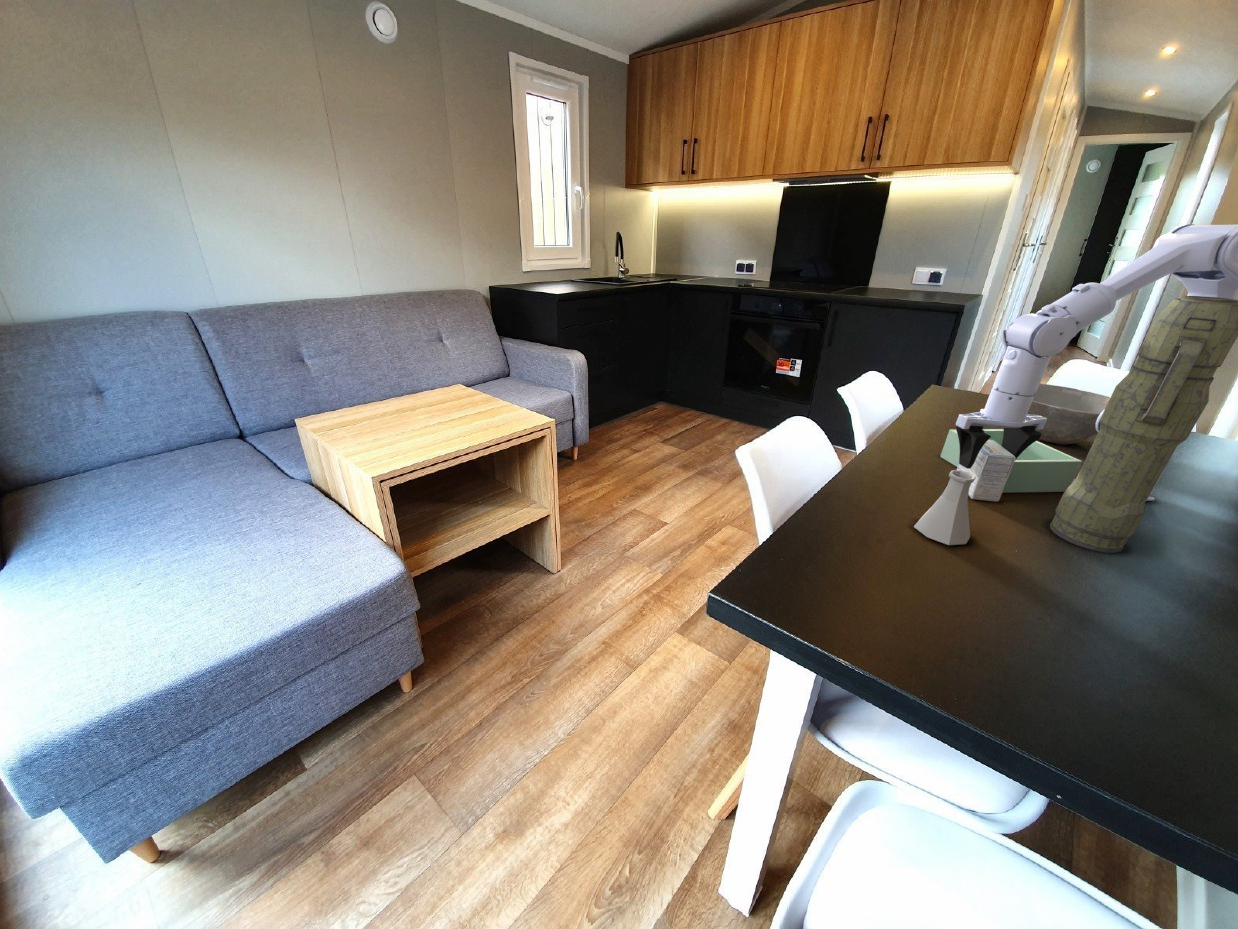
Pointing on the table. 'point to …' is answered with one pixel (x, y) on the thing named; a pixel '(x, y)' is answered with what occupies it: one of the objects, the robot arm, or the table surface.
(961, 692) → the table surface
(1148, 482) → the thermos
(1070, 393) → the ceramic bowl
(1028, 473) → the mint green tray
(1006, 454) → the medicine box
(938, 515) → the flask
